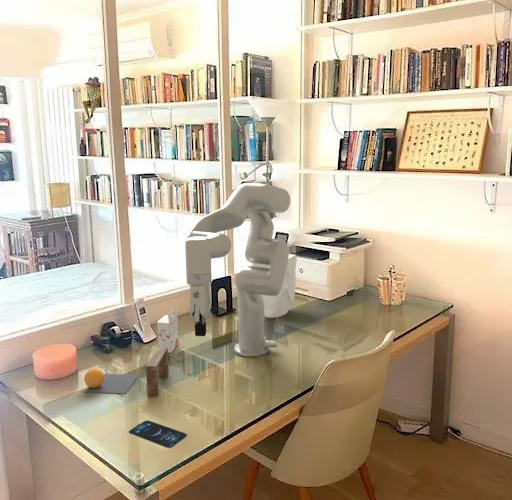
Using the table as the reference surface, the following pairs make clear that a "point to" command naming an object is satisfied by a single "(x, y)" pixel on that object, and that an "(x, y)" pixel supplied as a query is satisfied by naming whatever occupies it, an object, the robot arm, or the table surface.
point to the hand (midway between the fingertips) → (200, 335)
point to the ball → (94, 378)
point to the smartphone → (158, 434)
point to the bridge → (156, 370)
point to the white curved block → (283, 300)
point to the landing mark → (114, 384)
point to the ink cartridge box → (168, 331)
